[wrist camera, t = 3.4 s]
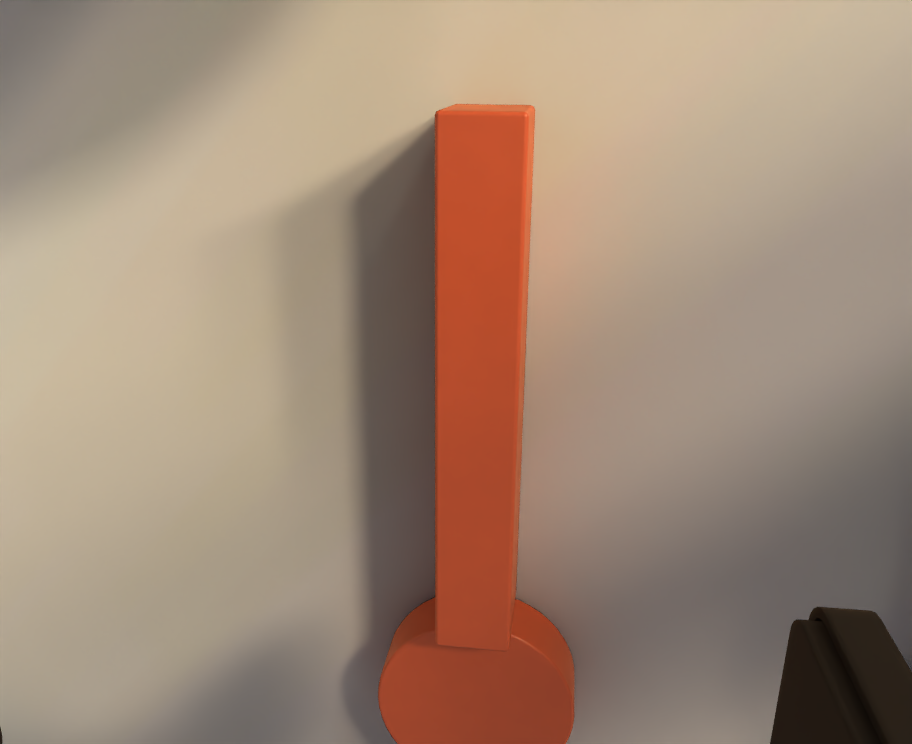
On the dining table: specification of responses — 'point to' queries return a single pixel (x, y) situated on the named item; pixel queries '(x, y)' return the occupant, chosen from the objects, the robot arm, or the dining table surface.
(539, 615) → the terracotta spoon
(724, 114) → the dining table surface
